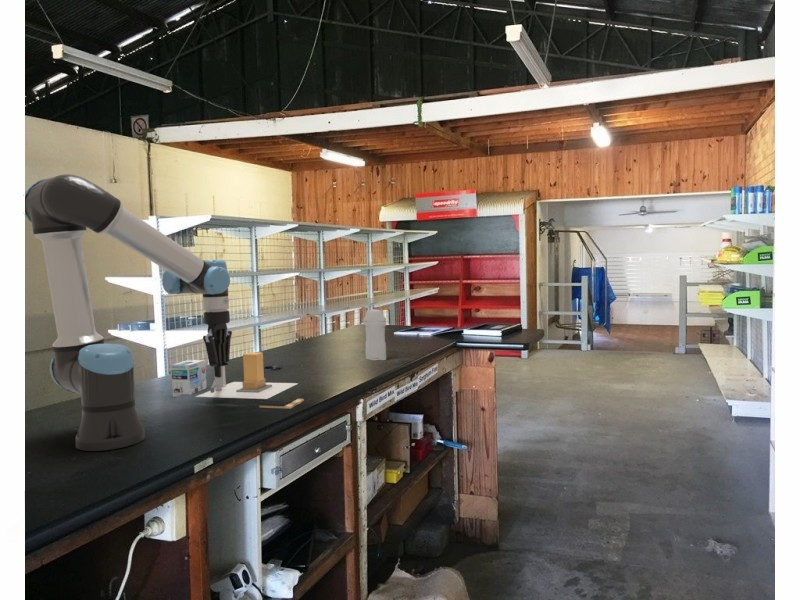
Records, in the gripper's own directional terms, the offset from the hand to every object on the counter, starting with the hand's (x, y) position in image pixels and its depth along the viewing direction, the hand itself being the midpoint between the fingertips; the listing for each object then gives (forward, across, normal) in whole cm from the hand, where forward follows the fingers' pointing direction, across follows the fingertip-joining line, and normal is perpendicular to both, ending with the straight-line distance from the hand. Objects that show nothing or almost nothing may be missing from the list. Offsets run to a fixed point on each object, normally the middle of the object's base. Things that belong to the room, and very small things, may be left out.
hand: (220, 386), depth 185 cm
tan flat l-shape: (+5, +1, -20) cm, 20 cm away
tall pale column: (+6, +85, -24) cm, 89 cm away
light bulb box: (+5, +11, +18) cm, 22 cm away
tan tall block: (+4, +16, -3) cm, 17 cm away
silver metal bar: (+1, +5, +5) cm, 7 cm away
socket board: (+5, +15, -1) cm, 16 cm away
